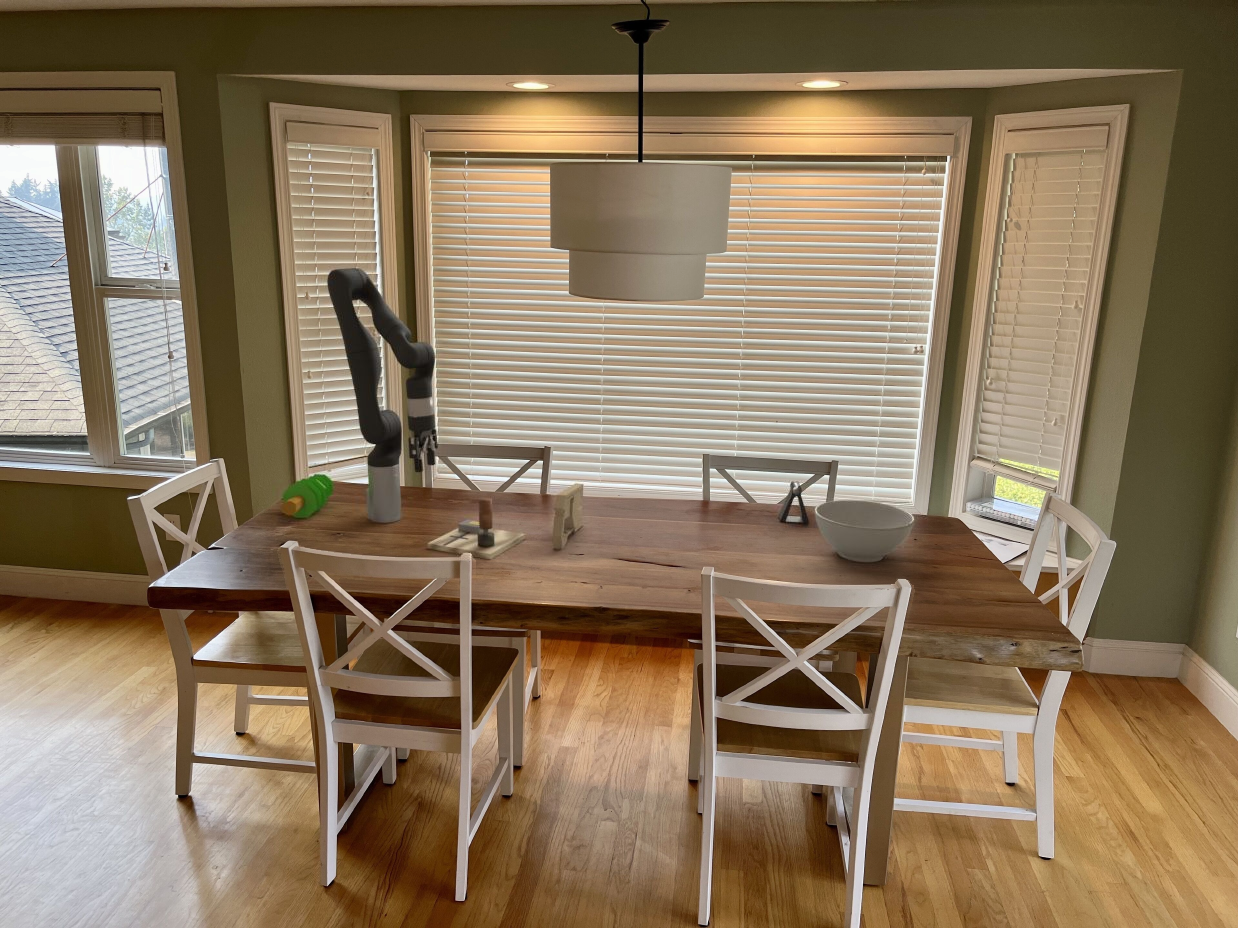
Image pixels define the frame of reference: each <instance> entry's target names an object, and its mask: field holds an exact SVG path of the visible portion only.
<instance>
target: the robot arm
mask: <svg viewBox="0 0 1238 928" xmlns="http://www.w3.org/2000/svg"><path fill="white" fill-rule="evenodd" d="M326 283H327V289H328V290H327V291H328V294H329V297H330V301H331V303H332V306H333V307H332V308H333V309H334V313H335V317H336V319H337V321H338V326H339V329H340V333H341V337H342V340H343V346H344V350H345V356H346V359H347V364H348V368H349V372H350V375H351V379H352V385H353V389H354V395H355V401H356V408H357V417H358V424H359V430H360V433H361V435H362V437H363V439H364V440H365V441H366V442H367V443H369V444H370V445H374V448H373V449H372V450H371V451H370V453H368V455H367V458H366V459H367V460H366V461H367V476H368V483H367V484H368V487H367V488H366V489H365V494H366V495H365V496H366V499H365V500H366V516H367V519H368V520H370V521H371V522H373V523H380V524H382V523H383V524H384V523H385V524H386V523H388V524H389V523H395V522H397V521H399V520H401V519H402V505H401V504H402V501H401V500H402V499H401V477H400V476H401V475H400V472H401V471H400V457H401V454H402V446H403V445H402V444H403V443H402V441H403V438H402V437H403V436H402V435H403V430H402V429H403V428H402V422H401V419H400V417H399V415H398V414H397V412H395V411H394V410H392V409H381V408H380V405H379V398H378V389H379V384H380V378H381V374H382V361H381V356H380V351H379V347H378V344H377V341H376V339H375V338H374V336H373V335H372V334H371V333H370V331H369V330H368V329H367V328H366V326H365V325H364V324H363V323H362V321H360V319H359V317H358V315H357V313H356V310H355V306H354V303H353V302H354V301H359V300H360V301H361V302H363V304H365V306H367V307H368V308H369V310H370V312H371V319H372V323H373V326H374V328H375V330H376V331H377V333H378V334H379V335H380V337H382V338H383V340H385V342H387V344H389V346H390V349H391V351H392V353H393V354H394V356H395V357H394V358H396V361H397V362H398V364H399V365H401V366H402V367H403V368H405V369H409V370H411V369H415V370H414V374H412V375H411V376H409V377H408V378H407V379H406V382H405V388H406V390H405V391H406V400H407V401H406V413H407V421H408V422H407V425H408V426H407V427H408V430H409V431H410V432H413V437H412V436H411V437H408V439H407V440H408V458H409V459H412V460H413V462H414V463H413V464H414V472H415V473H422V472H424V465H423V464H424V462H423V459H422V458H423V456H424V455H423V454H424V453H425V452H426V462H427V463H426V464H427V465H428V466H435V465H436V452H437V450H438V449H439V444H438V443H439V442H438V434H437V433H438V432H437V428H436V415H435V413H436V412H435V405H434V399H433V390H432V389H433V387H432V379H433V376H434V369H435V363H436V352H435V349H434V348H433V346H432V345H431V344H430V343H429V342H427V341H419V342H410V341H411V339H412V332H411V330H410V329H409V328H408V326H407V325H406V324H405V323H404V322H403V321H402V320H401V319H400V318H399V317H398V316H397V315H396V313H394V311H393V310H392V309H391V308H390V306H389V305H388V304H387V302H386V300H385V299H384V297H383V295H382V294H381V293H380V291H379V290H378V288H377V287H376V285H375V283H374V282H373V280H372V279H371V278H370V276H369V275H368V274H367V272H365V270H363V269H362V268H359V267H354V268H353V267H350V268H335V269H333V270H330V272H329V273H328V276H327V281H326Z"/></svg>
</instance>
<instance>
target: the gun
mask: <svg viewBox="0 0 1238 928" xmlns="http://www.w3.org/2000/svg"><path fill="white" fill-rule="evenodd" d="M583 498H584V483H578V482H576V483H574V484H572V485H571V486H570V487H568V488H566V489H564V490H562V491H561V492H560V491H559V493H558V494H556V498H555V502H554V507H553V510H554V511H555V512H554V518H553V526H552V527H553V528H552V535H551V536H552V546H553V547H552V548H553V549H555V550H563V549H564V548H565V546H566V544H567V542H568V537H569V536H570V535H571V534H575V533H576V532H577V531H578V530H579V529H580V528H582V526H584V522H583V506H582V499H583Z"/></svg>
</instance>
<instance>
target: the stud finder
mask: <svg viewBox="0 0 1238 928" xmlns="http://www.w3.org/2000/svg"><path fill="white" fill-rule="evenodd" d="M457 528H458V531H464V532H470V533H476V534H478V533H481V532H483V529H480V528H479V520H473V519H467V518H466V519H465V520H463V521H461V522H458V524H457Z"/></svg>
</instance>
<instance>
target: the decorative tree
mask: <svg viewBox="0 0 1238 928" xmlns="http://www.w3.org/2000/svg"><path fill="white" fill-rule="evenodd" d="M332 494H334V482H333V480H332V477H331V478H330V477H329V476H328V475H326V474H322V473H321V474H320V473H314V474H313V476H312V475H310V476H309V477H308V478H302V479H301V480H297V481H296V482H295V483H294V484H291V485H290V486H289V487H288V488H287V489H286V490H285V491H284V492H283V493H282V499H283V500H282V501H283V502H282V503H283V504H281V505H280V509H281V513H283V514H284V515H287V516H292V517H294V518H303V519H304V518H305V519H308V518H309V517H310V516H312V515H313V514H314V513H316V512H317V511H320V510H321V509H322V508H323V507H324V506H325V505H326V504H327V503H328V498H329V497H330V496H331V495H332Z"/></svg>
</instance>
